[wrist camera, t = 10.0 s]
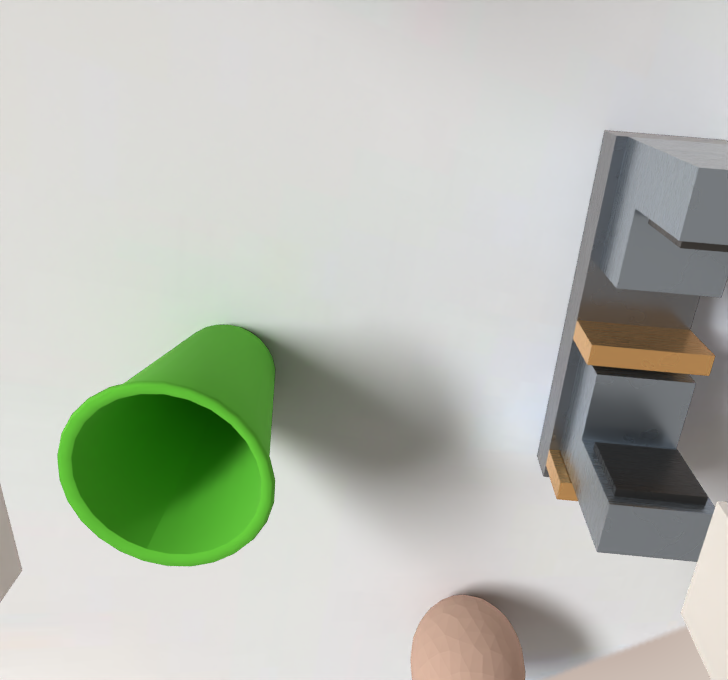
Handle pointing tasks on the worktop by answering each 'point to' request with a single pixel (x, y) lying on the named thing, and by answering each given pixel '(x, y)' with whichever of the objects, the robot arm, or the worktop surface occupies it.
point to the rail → (642, 269)
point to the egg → (466, 643)
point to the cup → (178, 452)
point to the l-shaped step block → (634, 462)
